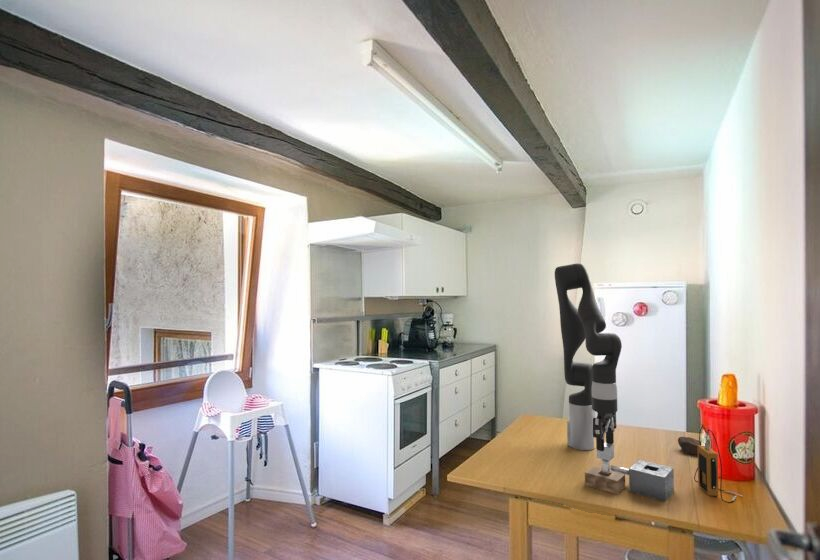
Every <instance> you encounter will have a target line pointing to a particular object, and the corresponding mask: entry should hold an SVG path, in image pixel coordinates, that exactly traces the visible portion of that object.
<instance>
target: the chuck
mask: <svg viewBox="0 0 820 560" xmlns="http://www.w3.org/2000/svg"><path fill="white" fill-rule="evenodd" d="M674 468H675V467H672V466H668V465H663V464H659V463H655V462H650V461H645V460H643V459H642V460H641V459H638V460H637V461H635V462H634V463H633V465H631V466H630V467H629V468H625V467H621V466H617V465H613V464H611V465H610V471H614V472H618V473H622V474H625V476H628V481H629V482H628V485H629V486H628V487H629V488H628V489H629V491H628V492H630V493H634V494H638V495H641V496H645V497H647V498H652V499H655V500H657V501H658V500H659V501H663V502H667V500H668V499H669V497H670V496H671V495H672V494H673V492H674V491H675V478H674V476H675V475H674V471H675V469H674Z"/></svg>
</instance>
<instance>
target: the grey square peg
mask: <svg viewBox="0 0 820 560" xmlns="http://www.w3.org/2000/svg"><path fill="white" fill-rule="evenodd" d="M596 458H597V459H600V461H601V468H602V475H605V476H610V471H611V469H610V468H611V465H610V462H611V460H612V459H614V458H615V445H614V443H613V444H609V443H606V442H604V451H599V450H597V449H596Z"/></svg>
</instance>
